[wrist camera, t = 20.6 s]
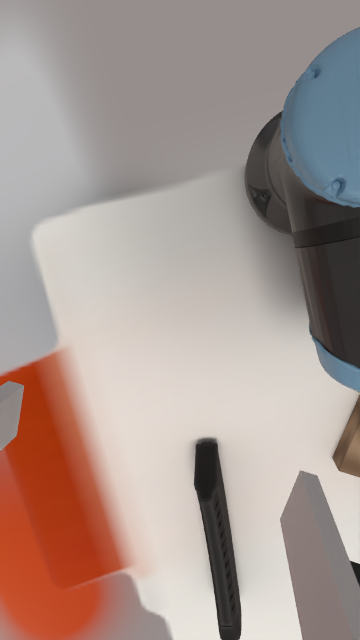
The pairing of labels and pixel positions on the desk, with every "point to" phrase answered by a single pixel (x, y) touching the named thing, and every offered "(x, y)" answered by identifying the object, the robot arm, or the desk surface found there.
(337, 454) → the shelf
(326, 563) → the robot arm
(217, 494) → the magazine
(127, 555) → the desk surface
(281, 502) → the desk surface
